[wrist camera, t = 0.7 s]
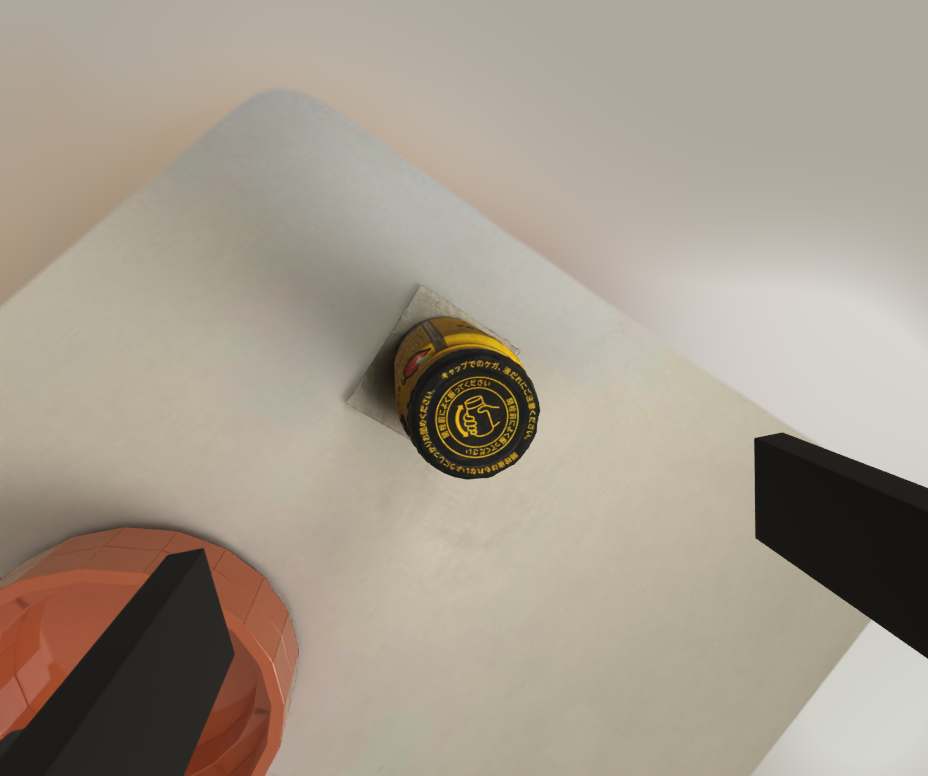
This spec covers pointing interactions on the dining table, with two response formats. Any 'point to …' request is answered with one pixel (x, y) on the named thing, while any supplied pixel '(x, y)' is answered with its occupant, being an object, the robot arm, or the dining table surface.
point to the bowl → (100, 601)
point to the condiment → (451, 390)
